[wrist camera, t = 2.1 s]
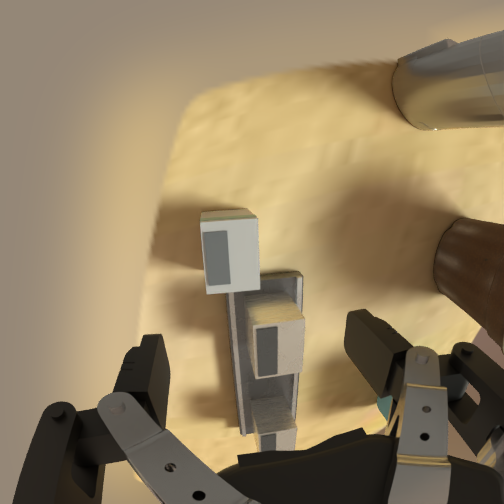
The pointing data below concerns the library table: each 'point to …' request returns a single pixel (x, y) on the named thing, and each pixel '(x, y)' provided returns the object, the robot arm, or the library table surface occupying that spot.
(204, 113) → the library table surface
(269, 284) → the rail
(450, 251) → the plant pot
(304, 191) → the library table surface
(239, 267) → the block
